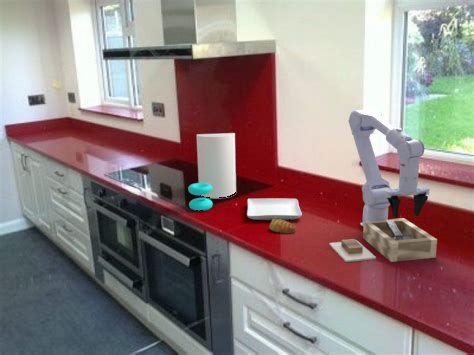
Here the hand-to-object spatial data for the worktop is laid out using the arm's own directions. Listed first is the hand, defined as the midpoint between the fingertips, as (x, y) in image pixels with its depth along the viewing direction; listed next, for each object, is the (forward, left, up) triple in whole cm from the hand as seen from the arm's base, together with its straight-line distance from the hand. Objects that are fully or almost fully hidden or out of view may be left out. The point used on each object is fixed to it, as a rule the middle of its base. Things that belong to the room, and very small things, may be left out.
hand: (405, 216), depth 158 cm
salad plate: (-40, -35, -10) cm, 54 cm away
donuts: (-54, -63, -10) cm, 84 cm away
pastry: (-22, -37, -10) cm, 44 cm away
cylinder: (-74, -53, -10) cm, 92 cm away
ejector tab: (+3, -4, -6) cm, 8 cm away
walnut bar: (+2, -20, -9) cm, 22 cm away
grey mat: (+3, -20, -9) cm, 22 cm away
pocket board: (+4, -4, -9) cm, 11 cm away
